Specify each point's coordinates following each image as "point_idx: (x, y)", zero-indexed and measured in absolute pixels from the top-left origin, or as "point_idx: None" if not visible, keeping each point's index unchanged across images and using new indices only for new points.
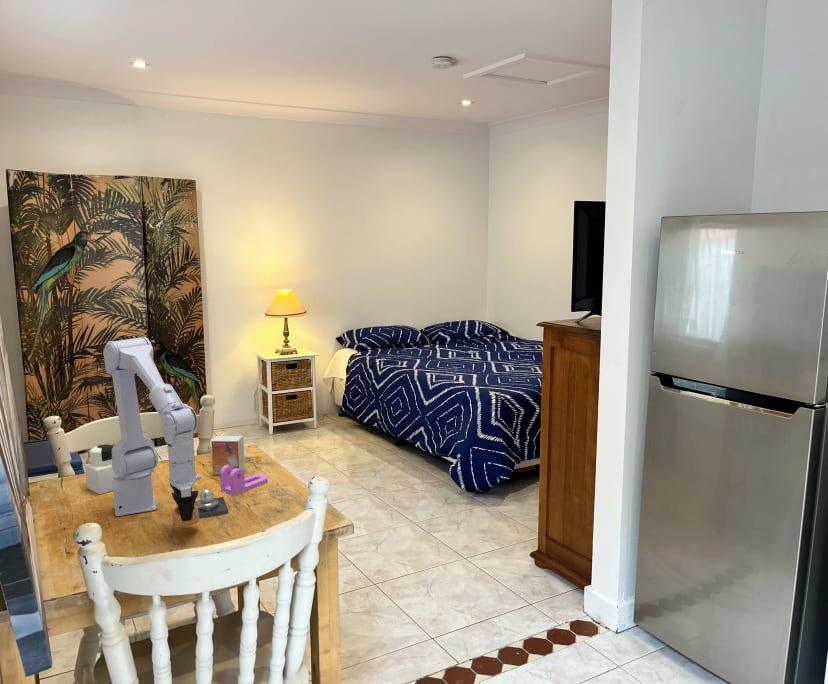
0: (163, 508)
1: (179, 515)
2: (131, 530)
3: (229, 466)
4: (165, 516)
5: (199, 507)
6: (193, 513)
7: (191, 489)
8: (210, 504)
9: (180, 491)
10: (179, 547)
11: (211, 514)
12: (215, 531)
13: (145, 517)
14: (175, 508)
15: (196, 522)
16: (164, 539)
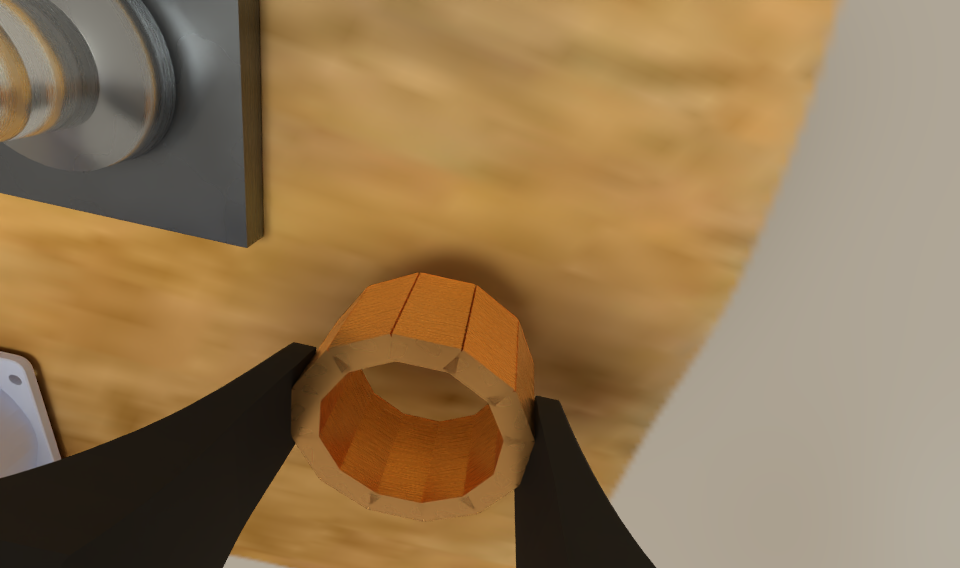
0: (6, 312)
1: (499, 494)
2: (270, 501)
3: None
4: (142, 339)
5: (131, 155)
6: (525, 401)
7: (182, 472)
8: (118, 55)
9: (199, 562)
10: (636, 411)
11: (249, 77)
12: (570, 153)
13: (123, 418)
14: (343, 481)
15: (517, 321)
16: None
